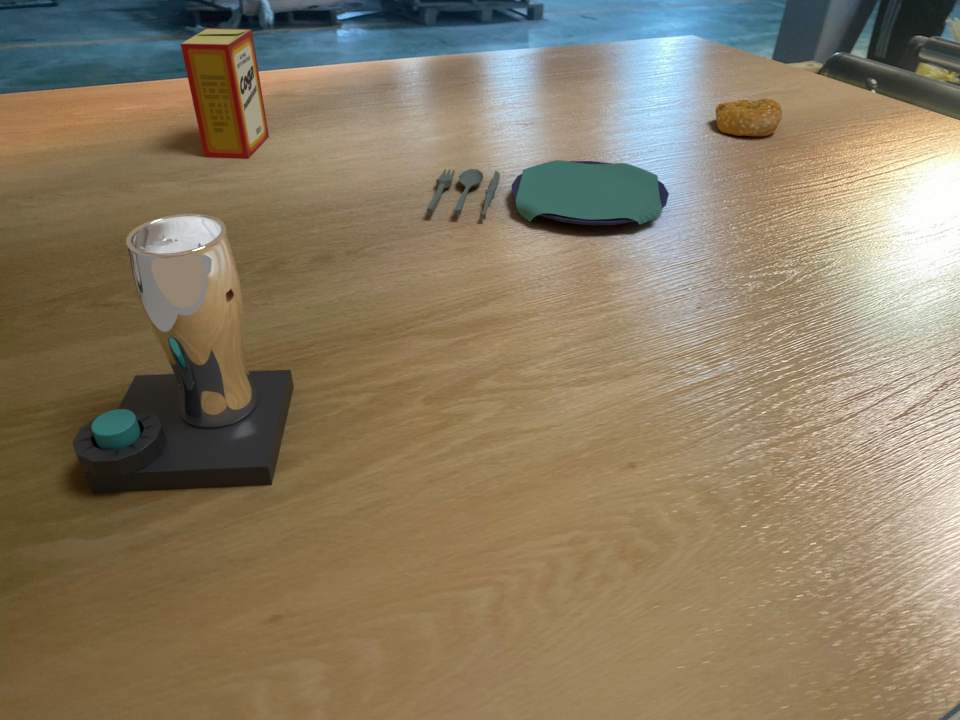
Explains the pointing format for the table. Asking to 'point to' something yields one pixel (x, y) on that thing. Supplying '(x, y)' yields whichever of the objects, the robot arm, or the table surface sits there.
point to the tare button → (115, 429)
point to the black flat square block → (189, 441)
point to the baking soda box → (226, 92)
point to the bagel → (749, 117)
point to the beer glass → (195, 313)
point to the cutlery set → (573, 192)
